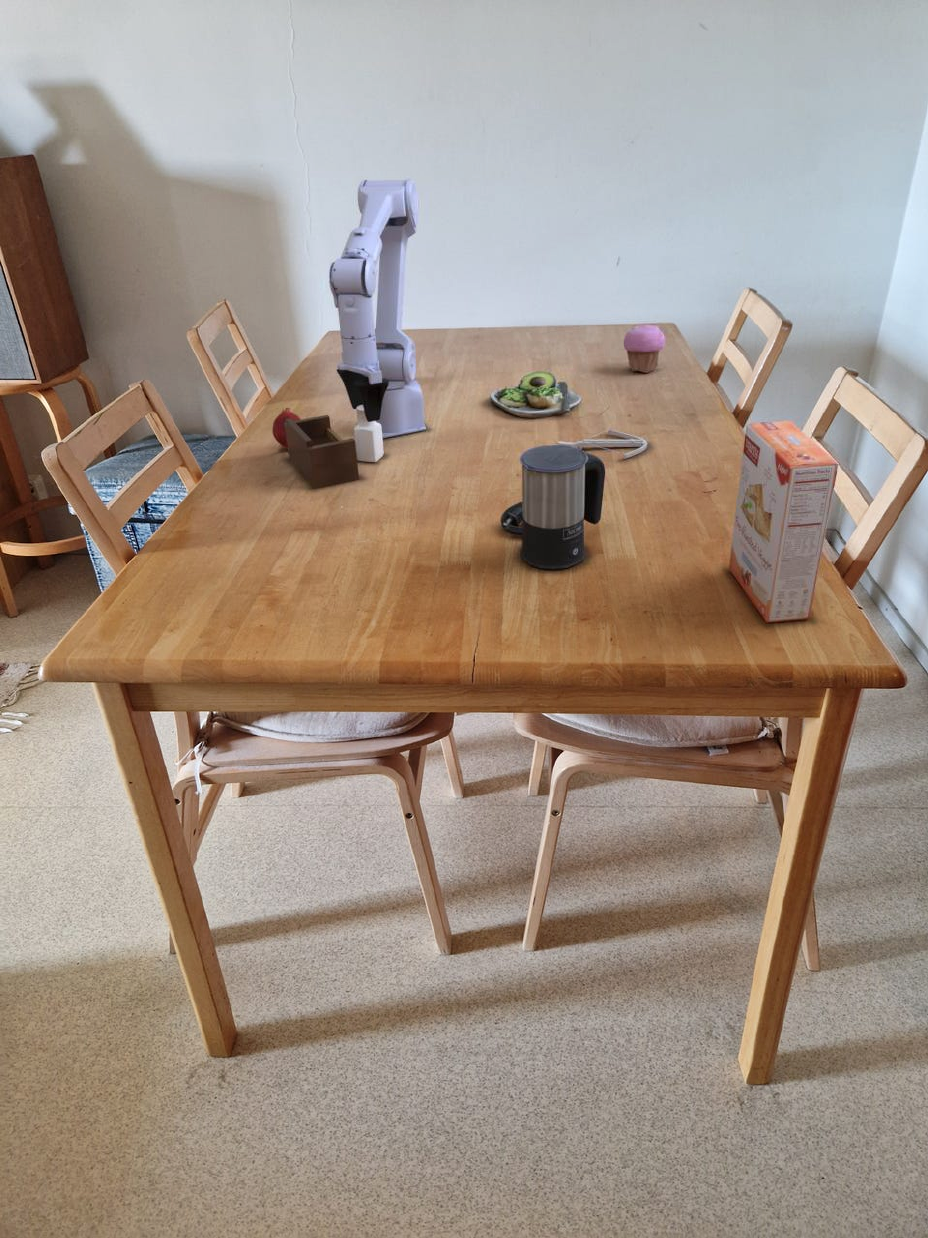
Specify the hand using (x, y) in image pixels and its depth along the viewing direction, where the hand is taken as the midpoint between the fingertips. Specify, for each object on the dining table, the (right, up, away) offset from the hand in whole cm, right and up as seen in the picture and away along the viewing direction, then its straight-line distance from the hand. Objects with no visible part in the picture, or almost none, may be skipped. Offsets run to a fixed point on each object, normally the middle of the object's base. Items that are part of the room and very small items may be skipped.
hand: (365, 414), depth 156 cm
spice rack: (-8, -10, +1) cm, 12 cm away
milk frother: (+28, -25, -26) cm, 46 cm away
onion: (-15, -4, +10) cm, 18 cm away
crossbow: (+42, -5, +4) cm, 43 cm away
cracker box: (+56, -33, -41) cm, 77 cm away
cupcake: (+57, +19, +43) cm, 74 cm away
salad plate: (+32, +8, +27) cm, 42 cm away
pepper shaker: (0, -7, +5) cm, 9 cm away
